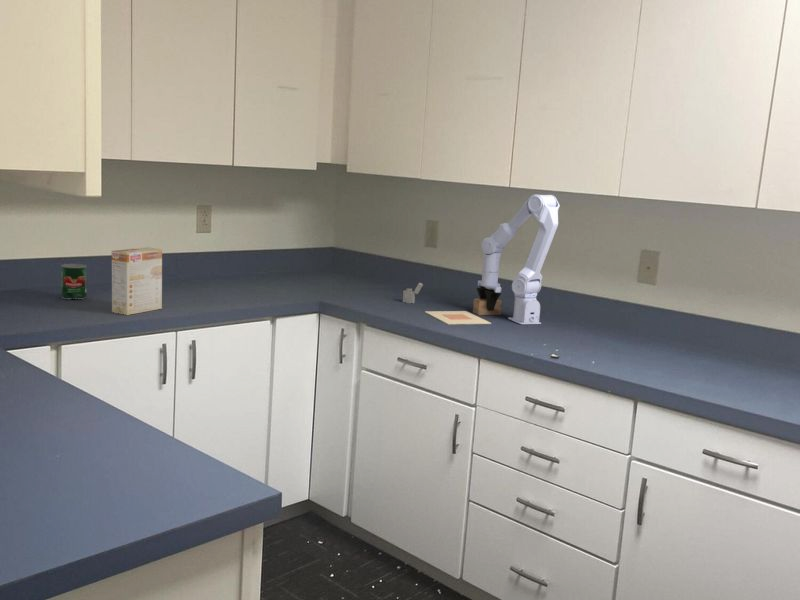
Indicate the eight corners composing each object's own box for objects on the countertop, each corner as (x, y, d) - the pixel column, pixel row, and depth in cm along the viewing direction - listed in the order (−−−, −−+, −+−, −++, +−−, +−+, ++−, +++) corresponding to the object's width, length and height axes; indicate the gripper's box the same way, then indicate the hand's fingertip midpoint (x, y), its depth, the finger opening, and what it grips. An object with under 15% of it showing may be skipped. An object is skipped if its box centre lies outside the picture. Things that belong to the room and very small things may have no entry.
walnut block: (495, 312, 291) (496, 298, 290) (500, 314, 287) (502, 300, 286) (472, 312, 288) (473, 298, 287) (478, 314, 284) (479, 300, 283)
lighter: (402, 302, 299) (403, 281, 298) (404, 301, 301) (405, 280, 299) (420, 304, 296) (421, 283, 295) (421, 304, 298) (423, 282, 297)
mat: (491, 323, 270) (491, 322, 269) (447, 324, 264) (447, 323, 264) (465, 311, 288) (465, 310, 288) (424, 312, 282) (424, 311, 282)
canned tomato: (68, 301, 262) (68, 267, 260) (56, 297, 267) (56, 264, 265) (91, 298, 268) (91, 266, 266) (79, 295, 273) (79, 263, 271)
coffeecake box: (146, 305, 262) (147, 246, 259) (162, 309, 259) (163, 249, 256) (110, 312, 249) (110, 250, 246) (127, 315, 246) (127, 252, 243)
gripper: (510, 274, 280) (506, 312, 282) (491, 268, 293) (488, 305, 295) (492, 274, 277) (488, 313, 280) (473, 268, 291) (470, 305, 293)
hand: (487, 309), depth 287 cm, fingers closed on walnut block, 4 cm apart
